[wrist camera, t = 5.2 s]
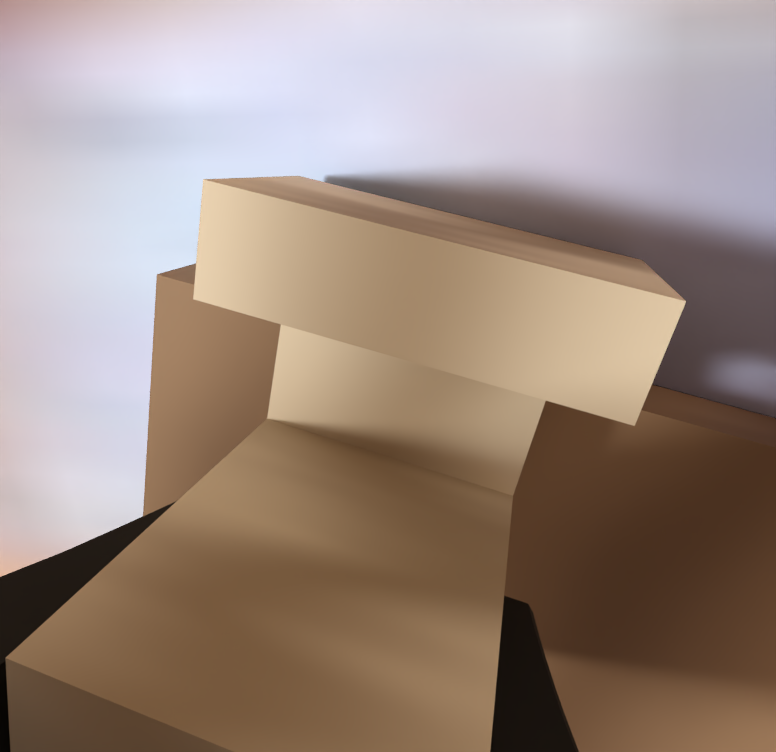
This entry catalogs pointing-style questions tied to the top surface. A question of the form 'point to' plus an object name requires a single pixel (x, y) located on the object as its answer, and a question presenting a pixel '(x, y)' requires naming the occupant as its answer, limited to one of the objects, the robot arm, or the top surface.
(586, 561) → the walnut board
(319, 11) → the top surface
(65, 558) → the robot arm
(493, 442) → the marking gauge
